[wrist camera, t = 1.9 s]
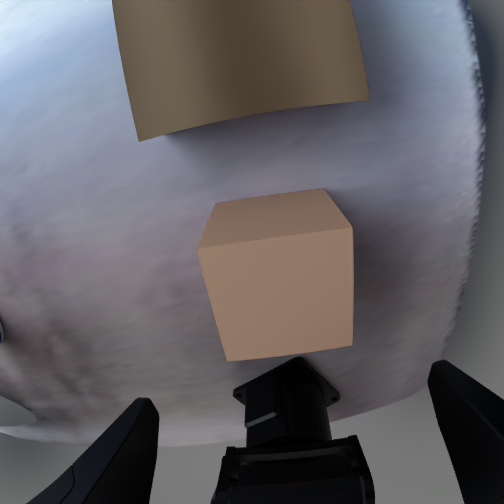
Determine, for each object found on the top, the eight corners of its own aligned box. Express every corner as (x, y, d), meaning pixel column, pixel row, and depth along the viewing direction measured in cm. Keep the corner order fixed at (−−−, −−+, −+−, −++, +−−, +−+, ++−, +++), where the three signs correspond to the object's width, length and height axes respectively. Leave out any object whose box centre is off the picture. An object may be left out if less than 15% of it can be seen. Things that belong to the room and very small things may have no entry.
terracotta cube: (323, 188, 17) (352, 227, 12) (329, 281, 20) (352, 345, 14) (215, 203, 18) (196, 248, 12) (234, 294, 20) (227, 361, 15)
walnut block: (309, -53, 11) (320, -86, 8) (345, 101, 15) (370, 100, 12) (134, -19, 12) (107, -43, 8) (164, 133, 16) (138, 141, 13)
